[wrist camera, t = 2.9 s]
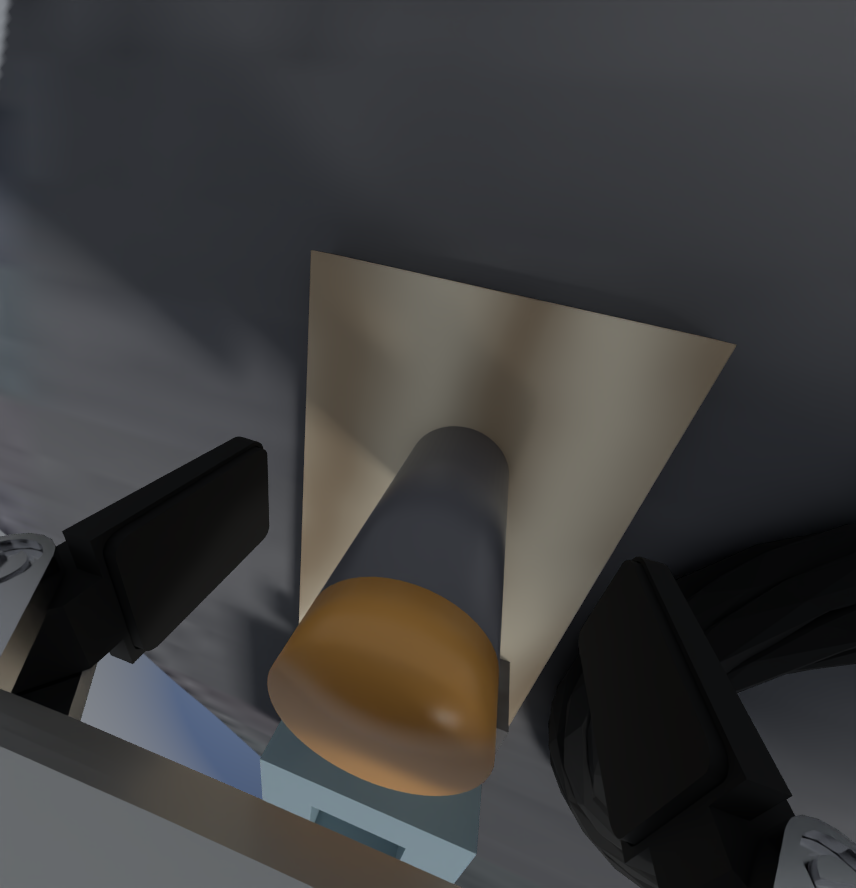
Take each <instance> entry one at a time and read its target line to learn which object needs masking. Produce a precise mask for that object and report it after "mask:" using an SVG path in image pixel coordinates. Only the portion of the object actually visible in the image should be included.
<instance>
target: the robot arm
mask: <svg viewBox="0 0 856 888" xmlns="http://www.w3.org/2000/svg"><path fill="white" fill-rule="evenodd" d="M268 530H269V501H268V464H267V452H266V450H264V449H263V446H262V444H261V443H259V442H257V441H253V440H250V439H247V438H243V437H235V438H233V439H231V440H229V441H227V442H225V443H224V444H222V445H220V446H218V447H216V448H214V449H213V450H211V451H209V452H207V453H205V454H203V455H202V456H200V457H198V458H196V459H194V460H192V461H191V462H189V463H187V464H185V465H183V466H181V467H179V468H178V469H176V470H174V471H172V472H170V473H168V474H167V475H165V476H163V477H161V478H159V479H157V480H156V481H154V482H152V483H150V484H148V485H146V486H145V487H143V488H141V489H139V490H137V491H135V492H133V493H132V494H130V495H128V496H126V497H124V498H122V499H121V500H119V501H117V502H115V503H113V504H111V505H110V506H108V507H106V508H104V509H102V510H100V511H99V512H97V513H95V514H93V515H91V516H89V517H88V518H86V519H84V520H82V521H80V522H78V523H76V524H75V525H73V526H71V527H69V528H67V529H65V530H64V531H62V532H63V534H64V537H65V539H66V541H65V542H63V543H62V544H60V545H58V546H56V545H55V544H54V542H53V540H52V539H51V538H49V537H47V536H45V535H41V534H34V533H22V534H11V535H6V536H1V537H0V888H462V887H459V886H457V885H455V884H453V883H450V882H448V881H446V880H444V879H441V878H439V877H437V876H435V875H432V874H430V873H428V872H426V871H423V870H421V869H419V868H417V867H414V866H412V865H410V864H408V863H405V862H403V861H401V860H398V859H396V858H394V857H392V856H389V855H387V854H385V853H382V852H380V851H378V850H376V849H373V848H371V847H369V846H367V845H364V844H362V843H360V842H357V841H355V840H353V839H351V838H348V837H346V836H344V835H341V834H339V833H337V832H335V831H332V830H330V829H328V828H325V827H323V826H321V825H319V824H316V823H314V822H312V821H309V820H307V819H305V818H303V817H300V816H298V815H296V814H293V813H291V812H289V811H287V810H284V809H282V808H280V807H277V806H275V805H273V804H271V803H268V802H266V801H264V800H261V799H259V798H256V797H255V796H252V795H250V794H248V793H245V792H243V791H241V790H239V789H236V788H234V787H232V786H229V785H227V784H225V783H222V782H220V781H218V780H216V779H213V778H211V777H209V776H206V775H204V774H202V773H199V772H197V771H195V770H192V769H190V768H188V767H185V766H183V765H181V764H178V763H176V762H174V761H172V760H169V759H167V758H165V757H162V756H160V755H158V754H155V753H153V752H151V751H148V750H146V749H144V748H141V747H139V746H137V745H134V744H132V743H130V742H127V741H125V740H123V739H120V738H118V737H116V736H113V735H111V734H109V733H107V732H104V731H102V730H100V729H97V728H95V727H92V726H90V725H87V724H86V723H83V722H81V721H80V720H81V717H82V713H83V710H84V707H85V703H86V700H87V696H88V693H89V689H90V686H91V683H92V679H93V676H94V672H95V669H96V665H97V662H99V660H101V659H102V658H103V657H104V656H105V655H106V654H107V653H109V652H110V654H111V655H112V656H115V657H117V658H119V659H122V660H124V661H127V662H129V663H132V664H133V663H134V662H135V661H136V660H137V659H138V658H139V657H140V656H141V655H142V654H143V653H144V652H145V651H150V650H152V649H154V648H156V647H157V646H158V645H159V644H160V643H161V642H162V641H163V640H164V639H165V638H166V637H167V636H168V635H169V634H170V633H171V632H172V631H173V630H174V629H175V628H176V627H177V626H178V625H179V624H180V623H181V622H182V621H183V620H184V619H185V618H186V617H187V616H188V615H189V614H190V613H191V612H192V611H193V610H194V609H195V608H196V607H197V606H198V605H199V604H200V603H201V602H202V601H203V600H204V599H205V598H206V597H207V596H208V595H209V594H210V593H211V592H212V591H213V590H214V589H215V588H216V587H217V586H218V585H219V584H220V583H221V582H222V581H223V580H224V579H225V578H226V577H227V576H228V575H229V574H230V573H231V572H232V571H233V570H234V569H235V568H236V567H237V566H238V565H239V564H240V563H241V562H242V561H243V560H244V559H245V557H246V556H247V555H248V554H249V553H250V552H251V551H252V550H253V549H254V548H255V547H256V546H257V545H258V544H259V543H260V542H261V541H262V540H263V539H264V538H265V536H266V535H267V533H268ZM578 644H579V651H580V657H581V663H582V668H583V674H584V680H585V685H586V691H587V697H588V702H589V708H590V714H591V719H592V725H593V731H594V736H595V742H596V748H597V753H598V759H599V765H600V770H601V776H602V782H603V787H604V793H605V799H606V804H607V810H608V816H609V821H610V825H611V828H612V831H613V833H614V835H615V836H616V837H617V838H618V839H620V841H621V846H622V851H623V857H624V862H625V864H627V865H630V866H632V867H635V868H637V869H639V870H642V871H644V872H647V873H649V874H652V875H654V876H656V879H657V883H658V887H659V888H856V844H855V843H854V842H853V841H851V840H850V839H849V838H848V837H846V836H845V835H844V834H843V833H841V832H840V831H839V830H837V829H835V828H833V827H832V826H830V825H828V824H826V823H825V822H823V821H821V820H819V819H816V818H813V817H809V816H806V815H799V816H795V815H794V813H793V811H792V809H791V807H790V805H789V803H788V801H787V800H786V799H788V798H789V797H791V796H792V794H791V792H790V791H789V789H788V787H787V785H786V783H785V781H784V779H783V778H782V776H781V774H780V772H779V770H778V768H777V767H776V765H775V763H774V761H773V759H772V757H771V756H770V754H769V752H768V750H767V748H766V746H765V744H764V743H763V741H762V739H761V737H760V735H759V733H758V732H757V730H756V728H755V726H754V724H753V722H752V721H751V719H750V717H749V715H748V713H747V711H746V710H745V708H744V706H743V704H742V702H741V700H740V698H739V697H738V695H737V693H736V691H735V689H734V687H733V686H732V684H731V682H730V680H729V678H728V676H727V675H726V673H725V671H724V669H723V667H722V665H721V663H720V662H719V660H718V658H717V656H716V654H715V652H714V651H713V649H712V647H711V645H710V643H709V641H708V640H707V638H706V636H705V634H704V632H703V630H702V628H701V627H700V625H699V623H698V621H697V619H696V617H695V616H694V614H693V612H692V610H691V608H690V606H689V605H688V603H687V601H686V599H685V597H684V595H683V594H682V592H681V590H680V588H679V586H678V584H677V582H676V581H675V579H674V577H673V575H672V573H671V571H670V570H669V568H668V567H667V566H666V565H664V564H662V563H659V562H655V561H652V560H649V559H645V558H642V557H635V558H634V559H633V560H632V561H630V560H626V561H625V562H624V563H623V564H622V566H621V567H620V569H619V570H618V572H617V574H616V575H615V577H614V578H613V580H612V581H611V583H610V585H609V586H608V588H607V589H606V591H605V593H604V594H603V596H602V597H601V599H600V600H599V602H598V604H597V605H596V607H595V608H594V610H593V611H592V613H591V615H590V616H589V618H588V619H587V621H586V623H585V624H584V626H583V627H582V629H581V631H580V634H579V639H578Z"/></svg>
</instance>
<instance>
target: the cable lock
mask: <svg viewBox="0 0 856 888" xmlns="http://www.w3.org/2000/svg"><path fill="white" fill-rule="evenodd" d="M676 582H677V584H678V586H679V588H680V590H681V592H682V594H683V595H684V597H685V599H686V601H687V603H688V605H689V606H690V608H691V610H692V612H693V614H694V616H695V617H696V619H697V621H698V623H699V625H700V627H701V628H702V630H703V632H704V634H705V636H706V638H707V640H708V641H709V643H710V645H711V647H712V649H713V651H714V652H715V654H716V656H717V658H718V660H719V662H720V663H721V665H722V667H723V669H724V671H725V673H726V675H727V676H728V678H729V680H730V682H731V684H732V686H733V687H734V689H735V691H736V693H739V692H741V691H744V690H746V689H749V688H751V687H754V686H756V685H759V684H762V683H764V682H767V681H769V680H772V679H774V678H777V677H779V676H782V675H785V674H790V673H796V672H801V671H806V670H812V669H820V668H827V667H835V666H843V665H850V664H856V523H855V524H850V525H844V526H841V527H838V528H835V529H832V530H829V531H826V532H823V533H818V534H812V535H807V536H802V537H797V538H791V539H786V540H781V541H775V542H770V543H765V544H759V545H755V546H753V547H751V548H749V549H746V550H744V551H742V552H740V553H737V554H735V555H733V556H730V557H728V558H726V559H724V560H721V561H719V562H717V563H714V564H712V565H710V566H708V567H705V568H703V569H701V570H699V571H696V572H694V573H692V574H689V575H687V576H685V577H683V578H680V579H678V580H676ZM548 728H549V749H550V760H551V766H552V769H553V772H554V774H555V777H556V780H557V783H558V785H559V788H560V791H561V793H562V795H563V797H564V799H565V800H566V802H567V804H568V806H569V807H570V809H571V811H572V813H573V815H574V816H575V818H576V820H577V822H578V823H579V825H580V827H581V829H582V831H583V832H584V833H585V835H586V836H587V837H588V838H589V839H590V840H591V841H592V843H593V844H594V845H595V846H596V847H597V848H598V850H599V851H600V852H601V853H602V854H603V855H604V857H605V858H606V859H607V860H608V861H609V862H610V863H611V865H612V866H613V867H614V868H615V869H616V870H617V871H619V872H620V873H622V874H623V875H624V876H626V877H627V878H628V879H630V880H631V881H632V882H634V883H635V884H637V885H638V886H639V887H641V888H659V887H658V883H657V879H656V876H654V875H652V874H649V873H647V872H644V871H642V870H639V869H637V868H635V867H632V866H630V865H627V864H625V862H624V857H623V851H622V846H621V841H620V839H618V838H617V837H616V836H615V835H614V833H613V831H612V828H611V825H610V821H609V816H608V810H607V804H606V799H605V793H604V787H603V782H602V776H601V770H600V765H599V759H598V753H597V748H596V742H595V736H594V731H593V725H592V719H591V714H590V708H589V702H588V697H587V691H586V685H585V680H584V674H583V668H582V663H581V657H580V654H579V655H578V657H577V658H576V660H575V661H574V663H573V664H572V666H571V667H570V669H569V670H568V672H567V674H566V676H565V677H564V678H563V680H562V681H561V682H560V684H559V685H558V688H557V692H556V696H555V698H554V700H553V701H552V708H551V715H550V719H549V723H548Z"/></svg>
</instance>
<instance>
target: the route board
mask: <svg viewBox="0 0 856 888" xmlns="http://www.w3.org/2000/svg"><path fill="white" fill-rule="evenodd" d="M735 347H736V345H735V344H731V343H727V342H724V341H720V340H716V339H712V338H708V337H703V336H699V335H694V334H690V333H685V332H681V331H676V330H672V329H667V328H663V327H658V326H654V325H649V324H645V323H640V322H636V321H631V320H627V319H622V318H618V317H613V316H609V315H604V314H600V313H595V312H591V311H586V310H582V309H577V308H573V307H568V306H564V305H559V304H555V303H550V302H546V301H541V300H537V299H532V298H528V297H524V296H519V295H515V294H510V293H506V292H501V291H497V290H492V289H488V288H483V287H479V286H474V285H470V284H465V283H461V282H456V281H452V280H447V279H443V278H438V277H434V276H429V275H425V274H420V273H416V272H411V271H407V270H402V269H398V268H393V267H389V266H384V265H380V264H375V263H371V262H366V261H362V260H357V259H353V258H348V257H344V256H339V255H335V254H330V253H325V252H319V251H314V250H311V268H310V299H309V329H308V360H307V391H306V421H305V452H304V483H303V514H302V544H301V575H300V606H299V623H300V622H301V620H302V619H303V617H304V616H305V614H306V613H307V611H308V610H309V608H310V607H311V605H312V604H313V602H314V600H315V599H316V597H317V596H318V594H319V593H320V591H321V590H322V588H323V587H324V585H325V584H326V582H327V580H328V579H329V577H330V576H331V574H332V573H333V571H334V570H335V568H336V567H337V565H338V564H339V562H340V561H341V559H342V557H343V556H344V554H345V553H346V551H347V550H348V548H349V547H350V545H351V544H352V542H353V541H354V539H355V537H356V536H357V534H358V533H359V531H360V530H361V528H362V527H363V525H364V524H365V522H366V521H367V519H368V518H369V516H370V514H371V513H372V511H373V510H374V508H375V507H376V505H377V504H378V502H379V501H380V499H381V498H382V496H383V494H384V493H385V491H386V490H387V488H388V487H389V485H390V484H391V482H392V481H393V479H394V478H395V476H396V475H397V473H398V471H399V470H400V468H401V467H402V465H403V464H404V462H405V461H406V459H407V458H408V456H409V455H410V453H411V451H412V450H413V448H414V447H415V445H416V444H417V443H418V441H419V440H420V439H421V438H422V437H424V436H425V435H426V434H428V433H429V432H431V431H433V430H436V429H439V428H442V427H448V426H460V427H466V428H471V429H474V430H476V431H479V432H481V433H483V434H484V435H486V436H487V437H489V438H490V439H491V440H492V441H494V442H495V443H496V445H497V446H498V447H499V448H500V449H501V451H502V452H503V454H504V456H505V458H506V461H507V464H508V469H509V486H508V506H507V526H506V546H505V566H504V586H503V606H502V626H501V646H500V665H499V685H498V705H497V725H496V745H495V754H496V752H497V751H498V749H499V747H500V746H501V744H502V742H503V741H504V739H505V737H506V736H507V734H508V729H509V725H510V723H511V722H512V720H513V718H514V716H515V715H516V713H517V711H518V710H519V708H520V706H521V705H522V703H523V701H524V700H525V698H526V696H527V695H528V693H529V691H530V690H531V688H532V686H533V685H534V683H535V681H536V680H537V678H538V676H539V675H540V673H541V671H542V670H543V668H544V666H545V665H546V663H547V661H548V660H549V658H550V656H551V655H552V653H553V651H554V650H555V648H556V646H557V645H558V643H559V641H560V640H561V638H562V636H563V635H564V633H565V631H566V630H567V628H568V626H569V625H570V623H571V621H572V620H573V618H574V616H575V614H576V613H577V611H578V609H579V608H580V606H581V604H582V603H583V601H584V599H585V598H586V596H587V594H588V593H589V591H590V589H591V588H592V586H593V584H594V583H595V581H596V579H597V578H598V576H599V574H600V573H601V571H602V569H603V568H604V566H605V564H606V563H607V561H608V559H609V558H610V556H611V554H612V553H613V551H614V549H615V548H616V546H617V544H618V543H619V541H620V539H621V538H622V536H623V534H624V533H625V531H626V529H627V528H628V526H629V524H630V523H631V521H632V519H633V518H634V516H635V514H636V513H637V511H638V509H639V507H640V506H641V504H642V502H643V501H644V499H645V497H646V496H647V494H648V492H649V491H650V489H651V487H652V486H653V484H654V482H655V481H656V479H657V477H658V476H659V474H660V472H661V471H662V469H663V467H664V466H665V464H666V462H667V461H668V459H669V457H670V456H671V454H672V452H673V451H674V449H675V447H676V446H677V444H678V442H679V441H680V439H681V437H682V436H683V434H684V432H685V431H686V429H687V427H688V426H689V424H690V422H691V421H692V419H693V417H694V416H695V414H696V412H697V411H698V409H699V407H700V406H701V404H702V402H703V400H704V399H705V397H706V395H707V394H708V392H709V390H710V389H711V387H712V385H713V384H714V382H715V380H716V379H717V377H718V375H719V374H720V372H721V370H722V369H723V367H724V365H725V364H726V362H727V360H728V359H729V357H730V355H731V354H732V352H733V350H734V349H735Z"/></svg>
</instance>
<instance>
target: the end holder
mask: <svg viewBox="0 0 856 888" xmlns="http://www.w3.org/2000/svg"><path fill="white" fill-rule="evenodd" d="M260 766H261V781H262V795H263V800H264V801H266V802H268V803H271V804H273V805H275V806H277V807H280V808H282V809H284V810H287V811H289V812H291V813H293V814H296V815H298V816H300V817H303V818H305V819H307V820H309V821H312V822H314V823H316V824H319V825H321V826H323V827H325V828H328V829H330V830H332V831H335V832H337V833H339V834H341V835H344V836H346V837H348V838H351V839H353V840H355V841H357V842H360V843H362V844H364V845H367V846H369V847H371V848H373V849H376V850H378V851H380V852H382V853H385V854H387V855H389V856H392V857H394V858H396V859H398V860H401V861H403V862H405V863H408V864H410V865H412V866H414V867H417V868H419V869H421V870H423V871H426V872H428V873H430V874H432V875H435V876H437V877H439V878H441V879H444V880H446V881H448V882H450V883H453V884H454V883H455V881H456V880H457V879H458V877H459V876H460V875H461V874H462V872H463V871H464V870H465V868H466V867H467V866H468V865H469V863H470V862H471V861H472V859H473V858H474V857H475V856H476V854H477V842H478V829H479V815H480V802H481V788H482V784H481V785H479V786H478V787H476V788H474V789H472V790H470V791H467V792H464V793H460V794H455V795H449V796H424V795H416V794H410V793H405V792H400V791H396V790H392V789H388V788H385V787H382V786H379V785H376V784H373V783H371V782H368V781H365V780H363V779H361V778H358V777H356V776H354V775H352V774H350V773H348V772H346V771H344V770H342V769H340V768H338V767H337V766H335V765H333V764H332V763H330V762H328V761H327V760H325V759H324V758H322V757H321V756H319V755H318V754H317V753H315V752H314V751H313V750H311V749H310V748H309V747H308V746H306V745H305V744H304V743H303V742H302V741H301V740H300V739H298V738H297V737H296V736H295V735H294V734H293V733H292V732H291V730H290V729H289V728H288V727H287V726H286V725H285V723H284V722H283V721H282V720H281V722H280V723H279V725H278V727H277V729H276V731H275V733H274V734H273V736H272V738H271V740H270V742H269V743H268V745H267V747H266V749H265V751H264V753H263V754H262V756H261V758H260Z"/></svg>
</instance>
